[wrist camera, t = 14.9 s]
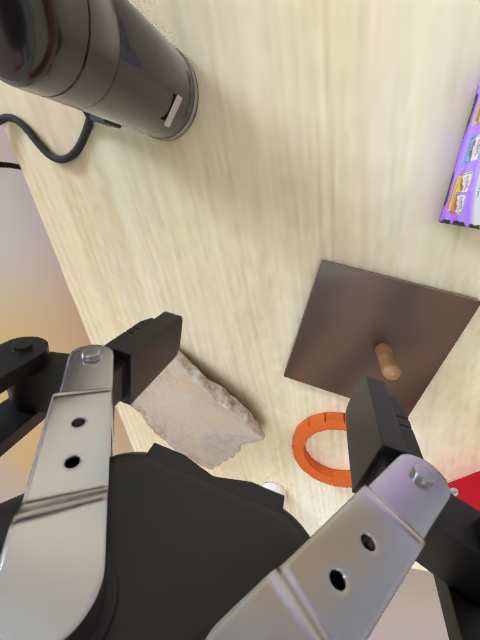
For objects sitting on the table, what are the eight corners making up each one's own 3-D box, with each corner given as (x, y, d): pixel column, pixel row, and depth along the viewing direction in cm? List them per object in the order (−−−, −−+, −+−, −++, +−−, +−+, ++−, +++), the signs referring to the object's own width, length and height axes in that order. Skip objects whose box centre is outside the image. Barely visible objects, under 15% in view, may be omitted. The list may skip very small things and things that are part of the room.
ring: (284, 458, 53) (283, 467, 51) (307, 400, 46) (307, 408, 44) (364, 489, 50) (365, 499, 48) (401, 432, 43) (404, 441, 42)
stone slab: (182, 326, 48) (125, 388, 56) (163, 344, 41) (101, 413, 49) (280, 414, 51) (213, 462, 58) (278, 446, 44) (202, 495, 51)
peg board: (284, 372, 45) (277, 402, 38) (322, 259, 36) (321, 273, 30) (405, 411, 42) (421, 453, 35) (477, 298, 33) (516, 324, 26)
